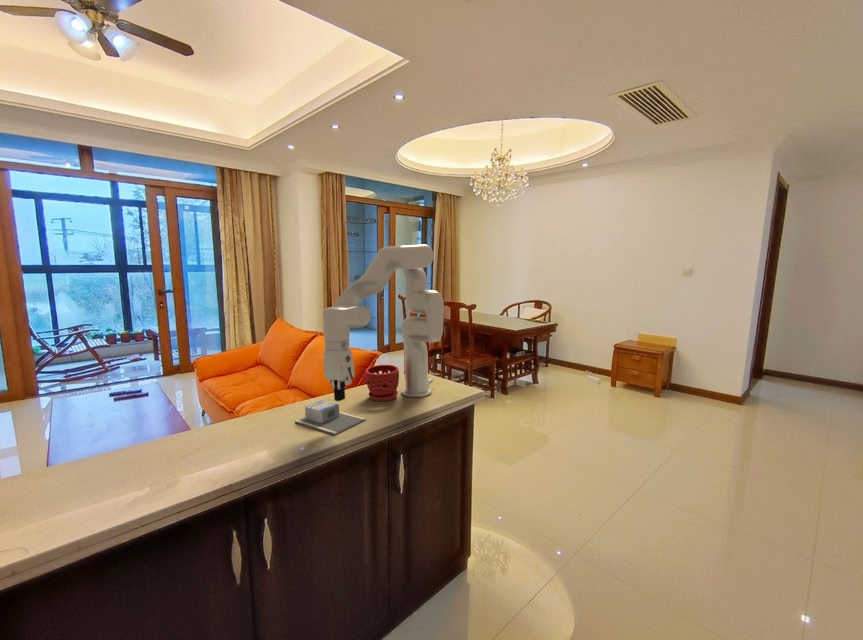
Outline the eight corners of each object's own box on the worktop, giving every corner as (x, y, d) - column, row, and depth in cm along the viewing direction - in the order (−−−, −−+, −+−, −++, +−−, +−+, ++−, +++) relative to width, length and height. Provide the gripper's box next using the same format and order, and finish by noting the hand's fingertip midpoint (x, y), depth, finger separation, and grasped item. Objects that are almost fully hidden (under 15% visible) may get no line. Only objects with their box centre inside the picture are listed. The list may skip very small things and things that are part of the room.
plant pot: (364, 394, 160) (363, 366, 158) (395, 391, 163) (395, 363, 162) (369, 405, 147) (367, 374, 146) (402, 401, 151) (402, 371, 149)
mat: (327, 409, 143) (327, 408, 143) (365, 420, 132) (365, 418, 132) (295, 422, 131) (295, 420, 131) (334, 435, 121) (334, 433, 121)
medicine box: (321, 411, 128) (304, 406, 133) (322, 424, 128) (304, 418, 133) (339, 404, 134) (322, 399, 139) (339, 416, 135) (322, 411, 140)
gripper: (361, 345, 124) (364, 400, 127) (330, 341, 133) (333, 392, 135) (344, 350, 118) (347, 407, 121) (312, 345, 127) (315, 399, 129)
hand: (339, 399), depth 128 cm, fingers closed
